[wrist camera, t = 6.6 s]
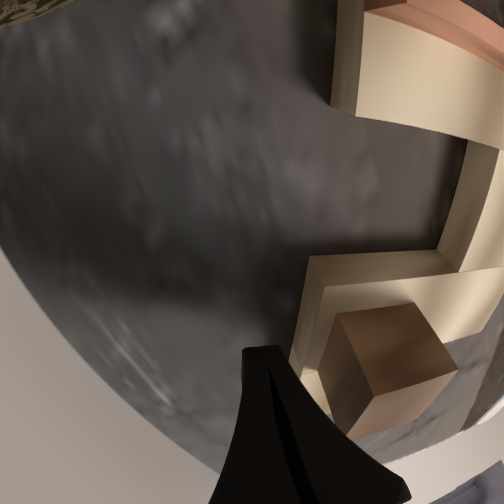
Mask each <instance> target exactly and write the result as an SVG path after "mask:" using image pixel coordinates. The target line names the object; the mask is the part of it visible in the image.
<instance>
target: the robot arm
mask: <svg viewBox="0 0 504 504" xmlns="http://www.w3.org/2000/svg"><path fill="white" fill-rule="evenodd" d="M241 378H242V395H241V402H240V407H239V412H238V417H237V422H236V426H235V430H234V434H233V438H232V441H231V445H230V448H229V451H228V454H227V458H226V461H225V464H224V466H223V469H222V472H221V475H220V477H219V480H218V482H217V485H216V488H215V490H214V492H213V494H212V497H211V499H210V501H209V503H208V504H403V503H405V502H407V501H409V500H410V499H411V498H412V496H411V494H410V491H409V489H408V487H407V485H406V483H405V481H404V480H403V478H402V477H400V476H398V475H397V474H395V473H393V472H392V471H390V470H389V469H387V468H386V467H384V466H383V465H381V464H380V463H379V462H377V461H376V460H375V459H373V458H372V457H370V456H369V455H368V454H367V453H366V452H364V451H363V450H362V449H361V448H360V447H358V446H357V445H356V444H355V443H354V442H353V441H351V440H350V439H349V438H348V437H347V436H346V435H345V434H344V433H343V432H342V431H341V430H340V429H339V428H338V427H337V426H336V425H335V424H334V423H333V422H332V421H331V419H330V418H329V417H328V416H327V415H326V414H325V413H324V411H323V410H322V409H321V408H320V406H319V405H318V404H317V403H316V401H315V400H314V399H313V398H312V396H311V395H310V393H309V392H308V391H307V389H306V388H305V386H304V385H303V384H302V382H301V381H300V379H299V378H298V376H297V375H296V373H295V371H294V370H293V368H292V366H291V365H290V363H289V361H288V360H287V358H286V356H285V354H284V352H283V350H282V348H281V346H279V345H270V346H259V347H247V348H244V349H243V350H242V373H241ZM429 504H504V465H503V463H502V461H501V460H500V461H498V462H497V463H495V464H494V465H493V466H491V467H489V468H488V469H487V470H485V471H484V472H482V473H480V474H478V475H476V476H475V477H473V478H471V479H470V480H468V481H467V482H465V483H464V484H462V485H460V486H458V487H457V488H456V489H455V490H453V491H452V492H450V493H448V494H446V495H444V496H443V497H441V498H439V499H437V500H435V501H433V502H431V503H429Z"/></svg>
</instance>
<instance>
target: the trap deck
mask: <svg viewBox="0 0 504 504" xmlns="http://www.w3.org/2000/svg"><path fill="white" fill-rule="evenodd" d="M330 107H333V108H336V109H338V110H341V111H344V112H346V113H349V114H351V115H354V116H358V117H365V118H371V119H378V120H384V121H389V122H395V123H400V124H405V125H410V126H415V127H420V128H424V129H429V130H433V131H437V132H442V133H446V134H450V135H453V136H457V137H461V138H465V139H468V143H467V148H466V153H465V157H464V161H463V165H462V169H461V173H460V177H459V181H458V185H457V188H456V192H455V195H454V199H453V202H452V205H451V208H450V212H449V215H448V218H447V221H446V224H445V227H444V230H443V233H442V236H441V238H440V241H439V244H438V247H437V249H433V250H414V251H396V252H377V253H357V254H338V255H317V256H309V261H308V266H307V272H306V277H305V283H304V288H303V294H302V299H301V304H300V309H299V314H298V319H297V324H296V329H295V334H294V338H293V343H292V348H291V352H290V357H289V363H290V365H291V366H292V368H293V370H294V371H295V373H296V375H297V376H298V378H299V379H300V381H301V382H302V384H303V385H304V386H305V388H306V389H307V391H308V392H309V393H310V395H311V396H312V398H313V399H314V400H315V401H316V403H317V404H318V405H319V406H320V408H321V409H322V410H323V411H324V413H325V414H331V410H330V407H329V404H328V401H327V398H326V395H325V392H324V389H323V386H322V383H321V380H320V377H319V375H318V372H317V370H318V367H319V365H320V362H321V359H322V356H323V353H324V350H325V347H326V344H327V341H328V338H329V335H330V332H331V329H332V326H333V323H334V320H335V317H336V313H342V312H350V311H358V310H366V309H374V308H381V307H388V306H395V305H402V304H408V303H414V302H415V304H416V305H417V307H418V308H419V309H420V311H421V312H422V314H423V315H424V317H425V318H426V319H427V321H428V322H429V324H430V325H431V327H432V328H433V330H434V331H435V333H436V334H437V336H438V337H439V339H440V340H441V342H442V343H447V342H450V341H453V340H456V339H460V338H463V337H466V336H469V335H472V334H475V333H478V332H481V331H482V329H483V327H484V326H485V324H486V323H487V321H488V319H489V318H490V316H491V314H492V313H493V311H494V309H495V308H496V306H497V304H498V302H499V301H500V299H501V297H502V295H503V293H504V29H503V28H502V27H500V26H499V25H497V24H496V23H495V22H493V21H492V20H490V19H489V18H487V17H486V16H484V15H483V14H481V13H479V12H478V11H476V10H475V9H473V8H471V7H470V6H468V5H466V4H465V3H463V2H461V1H459V0H338V7H337V27H336V43H335V57H334V69H333V81H332V92H331V102H330Z"/></svg>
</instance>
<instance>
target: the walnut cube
mask: <svg viewBox="0 0 504 504" xmlns="http://www.w3.org/2000/svg"><path fill="white" fill-rule="evenodd" d="M458 370H459V369H458V367H457V366H456V364H455V362H454V361H453V359H452V358H451V356H450V354H449V353H448V351H447V350H446V348H445V347H444V345H443V343H442V342H441V340H440V339H439V337H438V336H437V334H436V333H435V331H434V330H433V328H432V327H431V325H430V324H429V322H428V321H427V319H426V318H425V317H424V315H423V314H422V312H421V311H420V309H419V308H418V307H417V305H416V304H415V302H414V303H408V304H402V305H395V306H388V307H381V308H374V309H366V310H358V311H350V312H342V313H336V317H335V320H334V323H333V326H332V329H331V332H330V335H329V338H328V341H327V344H326V347H325V350H324V353H323V356H322V359H321V362H320V365H319V367H318V370H317V372H318V375H319V377H320V380H321V383H322V386H323V389H324V392H325V395H326V398H327V401H328V404H329V407H330V410H331V413H332V416H333V419H334V422H335V425H336V426H337V427H338V428H339V429H340V430H341V431H342V432H343V433H344V434H345V435H346V436H347V437H348V438H349V439H350V440H351V439H355V438H359V437H363V436H366V435H370V434H373V433H376V432H380V431H383V430H386V429H389V428H392V427H395V426H398V425H401V424H404V423H407V422H410V421H412V420H415V419H417V418H418V417H419V416H420V415H421V414H422V412H423V411H424V410H425V409H426V408H427V407H428V406H429V405H430V404H431V403H432V401H433V400H434V399H435V398H436V397H437V396H438V394H439V393H440V392H441V391H442V390H443V389H444V387H445V386H446V385H447V384H448V383H449V381H450V380H451V379H452V378H453V376H454V375H455V374H456V372H457V371H458Z"/></svg>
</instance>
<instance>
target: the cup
mask: <svg viewBox="0 0 504 504" xmlns="http://www.w3.org/2000/svg"><path fill="white" fill-rule="evenodd" d="M75 1H77V0H0V29H2V28H6V27H10V26H14V25H18V24H21V23H24V22H28V21H31V20H34V19H37V18H40V17H43V16H45V15H48V14H50V13H53V12H55V11H57V10H59V9H62V8H64V7H66V6H68V5H70V4H71V3H73V2H75Z"/></svg>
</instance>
